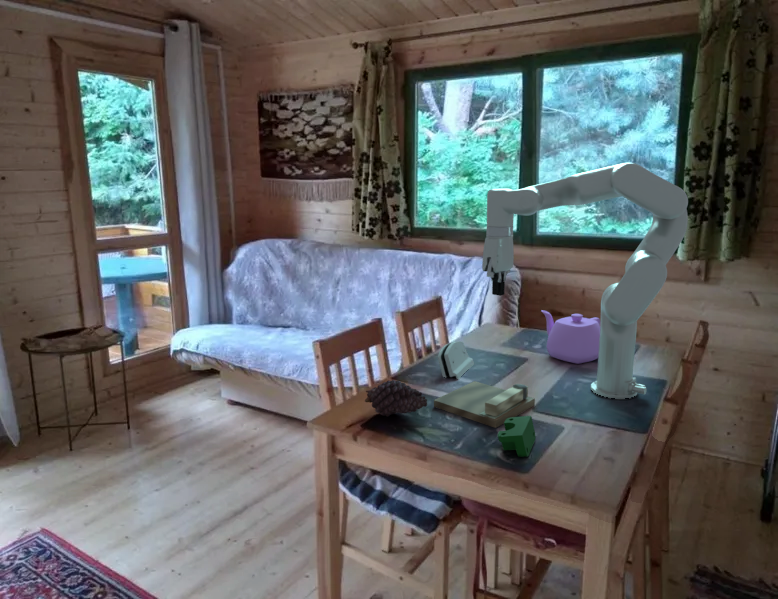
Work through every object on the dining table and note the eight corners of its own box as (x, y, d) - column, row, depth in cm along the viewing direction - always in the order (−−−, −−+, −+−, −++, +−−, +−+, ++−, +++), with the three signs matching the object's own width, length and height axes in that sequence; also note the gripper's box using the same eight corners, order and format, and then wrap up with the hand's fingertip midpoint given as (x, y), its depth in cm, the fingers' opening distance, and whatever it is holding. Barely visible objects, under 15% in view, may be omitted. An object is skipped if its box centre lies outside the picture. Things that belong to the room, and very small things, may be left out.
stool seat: (534, 405, 161) (534, 397, 160) (495, 428, 148) (496, 419, 147) (474, 387, 174) (474, 380, 174) (433, 406, 161) (433, 399, 160)
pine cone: (432, 413, 157) (432, 378, 155) (420, 428, 148) (420, 391, 146) (371, 404, 163) (370, 370, 161) (356, 419, 154) (355, 383, 152)
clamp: (513, 455, 143) (508, 417, 145) (537, 454, 140) (533, 415, 142) (498, 458, 132) (494, 417, 134) (524, 456, 130) (519, 415, 132)
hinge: (458, 380, 180) (447, 349, 180) (444, 383, 183) (434, 352, 182) (474, 363, 195) (465, 335, 194) (462, 366, 197) (452, 338, 197)
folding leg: (516, 393, 163) (517, 383, 162) (529, 396, 160) (529, 386, 160) (483, 412, 150) (484, 402, 150) (496, 416, 148) (497, 405, 147)
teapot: (617, 356, 200) (620, 313, 197) (580, 369, 188) (582, 324, 184) (562, 341, 218) (564, 301, 214) (524, 352, 205) (525, 310, 202)
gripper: (502, 229, 176) (501, 288, 181) (473, 233, 166) (472, 297, 170) (524, 230, 171) (522, 292, 176) (496, 235, 161) (494, 301, 165)
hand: (498, 294), depth 173 cm, fingers closed
